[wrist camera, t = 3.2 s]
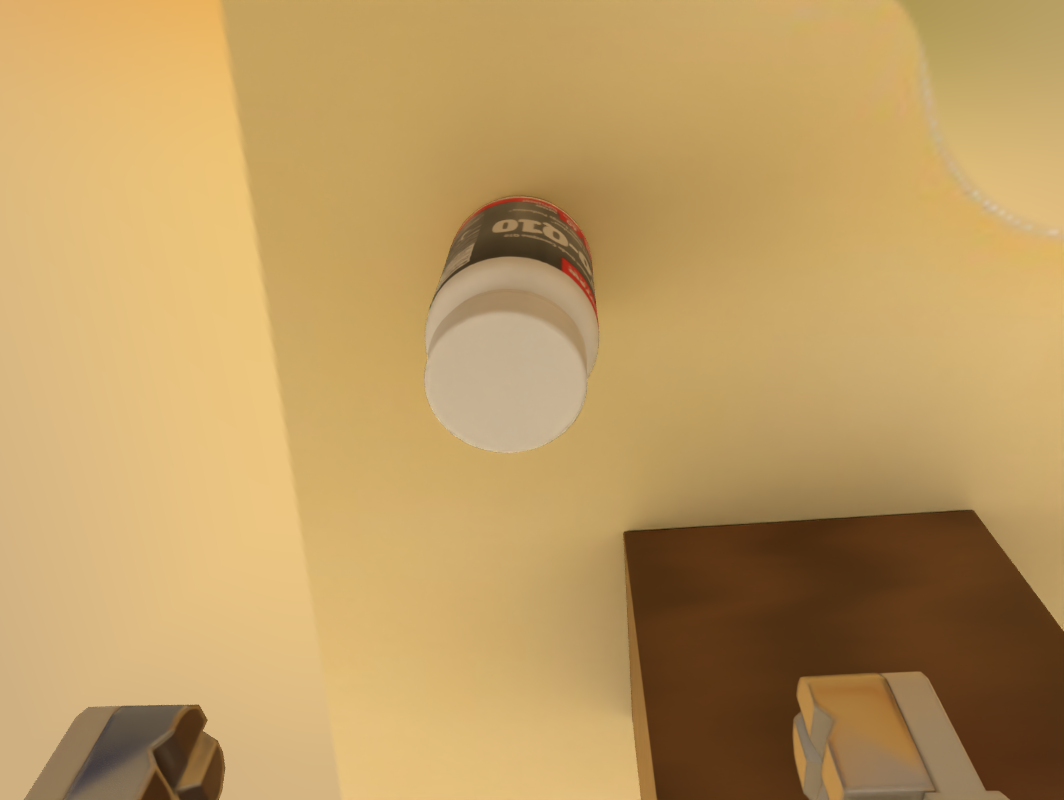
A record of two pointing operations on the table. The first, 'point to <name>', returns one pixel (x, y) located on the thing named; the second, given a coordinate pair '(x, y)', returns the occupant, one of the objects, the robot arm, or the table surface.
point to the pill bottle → (512, 327)
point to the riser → (833, 647)
